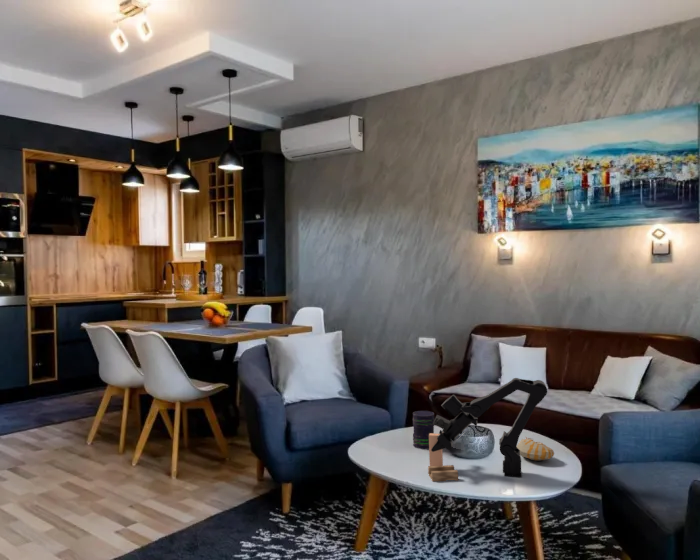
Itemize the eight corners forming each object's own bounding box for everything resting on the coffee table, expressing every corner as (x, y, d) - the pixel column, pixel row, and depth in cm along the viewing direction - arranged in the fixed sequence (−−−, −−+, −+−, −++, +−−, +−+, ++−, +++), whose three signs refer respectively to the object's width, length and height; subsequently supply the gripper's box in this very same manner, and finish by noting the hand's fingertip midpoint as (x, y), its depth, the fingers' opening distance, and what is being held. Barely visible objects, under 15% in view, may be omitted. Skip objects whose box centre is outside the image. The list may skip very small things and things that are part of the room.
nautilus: (513, 449, 255) (548, 452, 252) (517, 462, 234) (555, 466, 231) (513, 431, 255) (548, 434, 252) (518, 443, 234) (556, 447, 231)
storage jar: (432, 442, 266) (431, 410, 265) (437, 448, 256) (436, 415, 256) (411, 442, 265) (410, 411, 265) (415, 449, 255) (414, 416, 255)
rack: (452, 472, 226) (452, 464, 226) (458, 480, 218) (458, 472, 218) (428, 473, 225) (428, 465, 225) (432, 481, 217) (432, 473, 217)
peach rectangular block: (442, 465, 232) (442, 433, 231) (442, 467, 230) (441, 435, 229) (430, 464, 234) (429, 433, 233) (429, 466, 231) (428, 435, 230)
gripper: (447, 404, 239) (421, 428, 242) (442, 415, 221) (414, 441, 224) (466, 423, 237) (440, 448, 240) (463, 436, 219) (435, 463, 222)
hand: (432, 449), depth 232 cm, fingers closed on peach rectangular block, 3 cm apart
